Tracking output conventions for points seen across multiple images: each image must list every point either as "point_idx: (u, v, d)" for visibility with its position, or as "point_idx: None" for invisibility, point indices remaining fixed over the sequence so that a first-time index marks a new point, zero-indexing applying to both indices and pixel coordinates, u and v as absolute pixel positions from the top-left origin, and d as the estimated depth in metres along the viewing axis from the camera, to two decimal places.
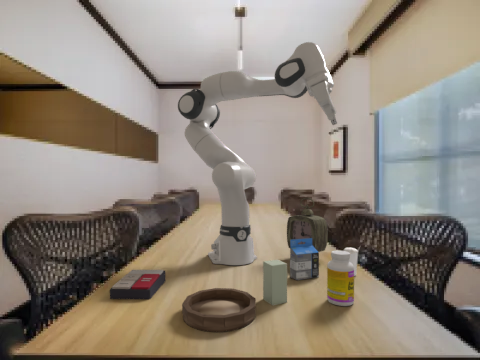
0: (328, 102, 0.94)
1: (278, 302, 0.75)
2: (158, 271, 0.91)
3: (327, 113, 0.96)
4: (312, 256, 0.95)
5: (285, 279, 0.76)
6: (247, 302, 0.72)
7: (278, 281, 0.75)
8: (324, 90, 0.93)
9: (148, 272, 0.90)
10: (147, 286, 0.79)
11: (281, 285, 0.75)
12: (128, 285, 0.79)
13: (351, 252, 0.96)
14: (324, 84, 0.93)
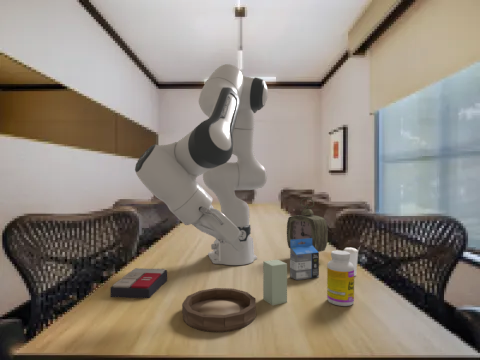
0: None
1: (278, 302, 0.75)
2: (160, 270, 0.92)
3: None
4: (312, 256, 0.95)
5: (285, 279, 0.76)
6: (247, 302, 0.72)
7: (278, 281, 0.75)
8: None
9: (150, 271, 0.90)
10: (146, 285, 0.79)
11: (281, 285, 0.75)
12: (128, 284, 0.80)
13: (352, 252, 0.96)
14: None
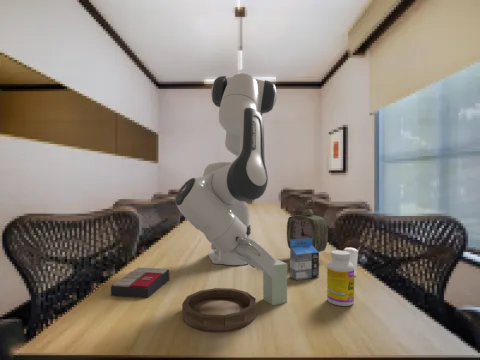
0: None
1: (278, 302, 0.75)
2: (161, 270, 0.92)
3: None
4: (312, 256, 0.95)
5: (285, 279, 0.76)
6: (247, 302, 0.72)
7: (278, 281, 0.75)
8: None
9: (152, 271, 0.91)
10: (145, 285, 0.80)
11: (281, 285, 0.75)
12: (128, 283, 0.81)
13: (351, 252, 0.96)
14: None
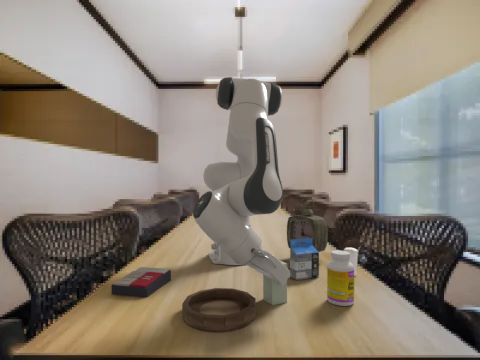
0: None
1: (278, 302, 0.75)
2: (163, 269, 0.92)
3: None
4: (312, 256, 0.95)
5: None
6: (247, 302, 0.72)
7: None
8: None
9: (153, 270, 0.91)
10: (145, 284, 0.80)
11: None
12: (128, 282, 0.81)
13: (351, 252, 0.96)
14: None
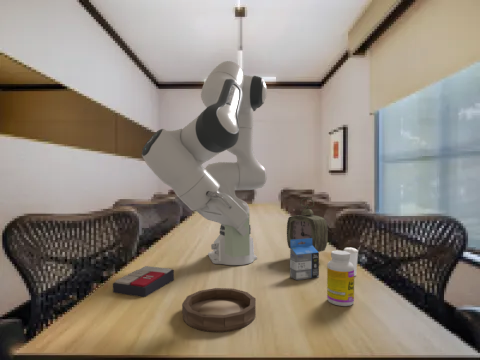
0: None
1: (239, 254, 0.69)
2: (166, 269, 0.92)
3: None
4: (312, 256, 0.95)
5: None
6: (247, 302, 0.72)
7: None
8: None
9: (156, 270, 0.92)
10: (144, 284, 0.80)
11: None
12: (129, 281, 0.83)
13: (351, 252, 0.96)
14: None
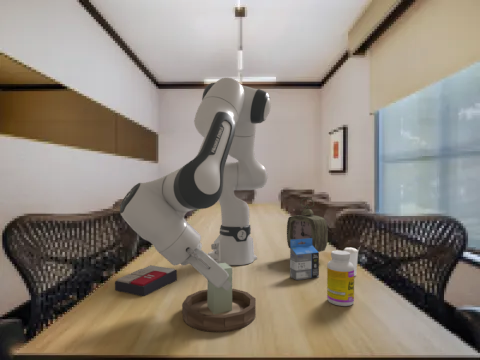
0: None
1: (221, 311, 0.67)
2: (169, 269, 0.92)
3: None
4: (312, 256, 0.95)
5: None
6: (247, 302, 0.72)
7: (221, 287, 0.67)
8: None
9: (159, 269, 0.92)
10: (143, 283, 0.81)
11: (225, 291, 0.67)
12: (130, 279, 0.84)
13: (351, 252, 0.96)
14: None
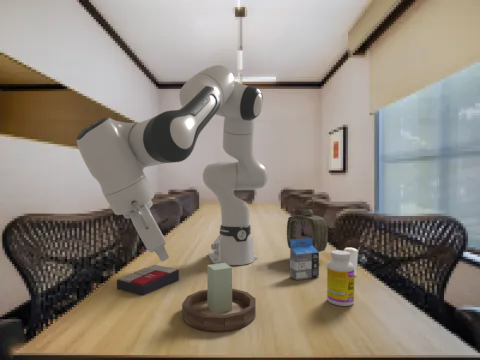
0: None
1: (221, 311, 0.67)
2: (171, 269, 0.92)
3: None
4: (312, 256, 0.95)
5: (230, 285, 0.68)
6: (247, 302, 0.72)
7: (221, 287, 0.67)
8: None
9: (162, 269, 0.93)
10: (142, 282, 0.81)
11: (225, 291, 0.67)
12: (131, 279, 0.84)
13: (351, 252, 0.96)
14: None
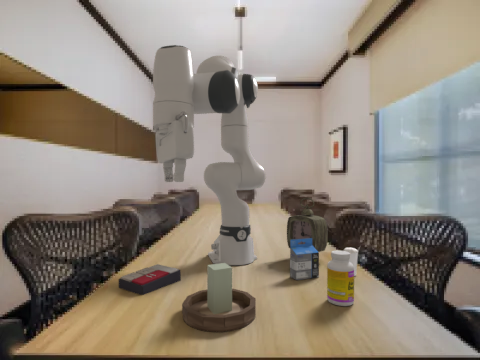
0: None
1: (221, 311, 0.67)
2: (172, 269, 0.92)
3: None
4: (312, 256, 0.95)
5: (230, 285, 0.68)
6: (247, 302, 0.72)
7: (221, 287, 0.67)
8: None
9: (163, 269, 0.93)
10: (142, 282, 0.82)
11: (225, 291, 0.67)
12: (131, 278, 0.85)
13: (351, 252, 0.96)
14: None
